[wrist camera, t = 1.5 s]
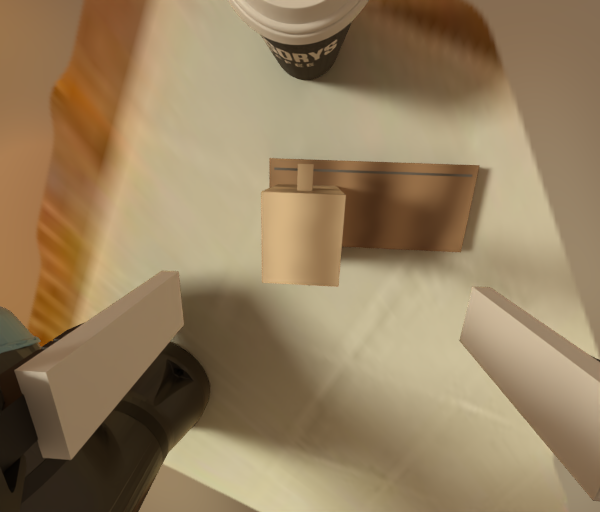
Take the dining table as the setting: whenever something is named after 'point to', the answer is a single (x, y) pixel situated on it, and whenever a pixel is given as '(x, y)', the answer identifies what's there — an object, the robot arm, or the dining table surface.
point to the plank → (394, 201)
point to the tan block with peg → (302, 232)
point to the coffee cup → (301, 30)
